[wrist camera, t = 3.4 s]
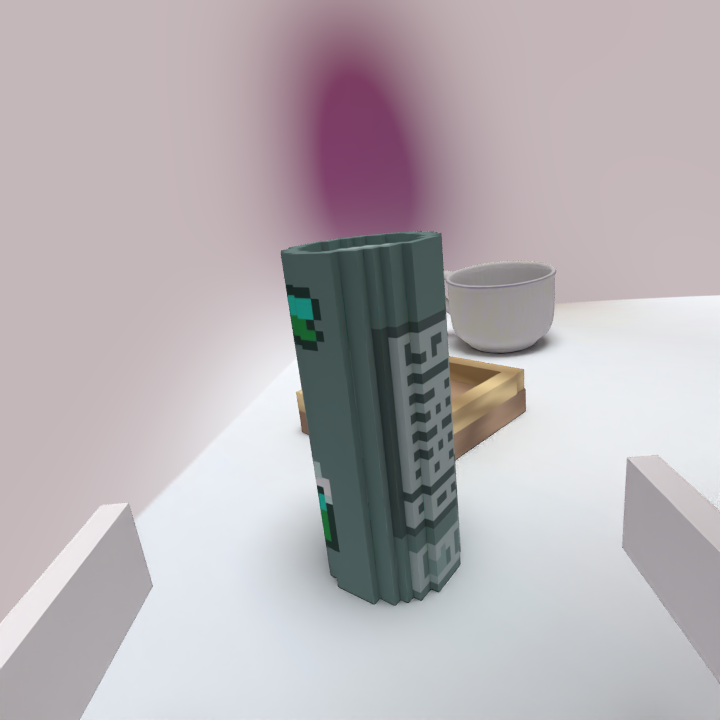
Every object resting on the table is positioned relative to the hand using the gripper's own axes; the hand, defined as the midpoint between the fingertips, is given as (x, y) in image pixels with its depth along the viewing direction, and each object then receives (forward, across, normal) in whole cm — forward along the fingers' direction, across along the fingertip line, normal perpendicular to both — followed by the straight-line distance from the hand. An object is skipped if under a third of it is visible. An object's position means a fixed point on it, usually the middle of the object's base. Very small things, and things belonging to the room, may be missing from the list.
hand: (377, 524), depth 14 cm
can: (+9, 0, -9) cm, 13 cm away
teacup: (+42, +12, -9) cm, 45 cm away
